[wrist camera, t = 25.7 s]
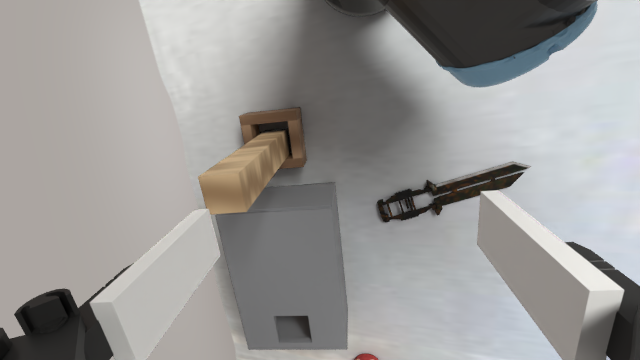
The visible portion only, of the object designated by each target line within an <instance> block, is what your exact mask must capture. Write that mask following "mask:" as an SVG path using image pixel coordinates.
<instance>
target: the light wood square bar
mask: <svg viewBox="0 0 640 360" xmlns="http://www.w3.org/2000/svg"><path fill="white" fill-rule="evenodd" d="M290 153H291V145H290V139H289V132H288V128H286V129H277V130H267V131H264V132H262V133H261V134H260V135H258V136H257V137H255V138H254V139H252V140H251V141H249V142H248V143H246V144H245V145H244V146H242V147H241V148H239V149H238V150H236V151H235V152H233V153H232V154H230V155H229V156H228V157H226V158H225V159H223V160H222V161H220V162H219V163H217V164H216V165H214V166H213V167H212V168H210V169H209V170H207V171H206V172H204V173H203V174H201V175H200V176H198V179H199V182H200V186H201V190H202V194H203V197H204V201H205V205H206V208H207V209H209V212H210V214H224V213H238V212H247V211H248V209H249V208H250V207H251V205H252V204H253V203H254V201H255V200H256V198H257V197H258V196H259V194H260V193H261V192H262V190H263V189H264V188H265V186H266V185H267V184H268V182H269V181H270V180H271V178H272V177H273V176H274V174H275V173H276V172H277V170H278V169H279V167H280V166H281V165H282V163H283V162H284V161H285V159H286V158H287V157H288V155H289V154H290Z"/></svg>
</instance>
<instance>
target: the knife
mask: <svg viewBox="0 0 640 360" xmlns="http://www.w3.org/2000/svg"><path fill="white" fill-rule="evenodd" d="M530 167H531V166H527V165H523V164H520V163H516V162H510V163H507V164H503V165H500V166H497V167H493V168H490V169H487V170H483V171H480V172H477V173H473V174H470V175H467V176H463V177H460V178H457V179H453V180H450V181H447V182H443V183H440V184H437V185H435V184H433V183H431V182H429V181H428V180H427V185H428V186H426V188H424V189H425V190H416V191H412V190H411V189H408V190H405V191H402V192H398V193H395V195H394V196H391V198H390V199H388V200H387V201H386V202H383V199H382V200H379V201H378V202H377V204H378V208H379V211H380V214H381V217H382V219H383V221H384V222H389V221H390V220H391V219H401V220H406V219H409V218H412V217H415V216H418V215H419V214H421V213H424V212H426V211H428V210H429V209H430V208H432V209H433V210H435V212H436V214H437V215H439V214H440V212H441V210H442V206H443V205H447V204H450V203H454V202H457V201H461V200H464V199H468V198H471V197H475V196H478V195H480V194H481V191H495V190H499V189H503V188H506V187H510V186H511V185H512V184H513V183H514V182H515V181H516V180H517V179H518V178H519V177H520V176H521V175H522V174H523V173H524V172H521V173H517V174H514V175H510V176H507V177H504V178H500V179H497V180H495V178H496V177H500V176H503V175H507V174H510V173H513V172H517V171H520V170H524V169H527V168H530ZM490 179H491V181H490V182H487V183H483V184H480V185H476V186H473V187H469V188H466V189H463V190H459V191H457V189H459V188H462V187H466V186H469V185H473V184H476V183H479V182H483V181H486V180H490ZM431 191H432V195H433V196H435V195H438V194H442V193H445V192H449V191H452V193H449V194H445V195H442V196H439V197H437V198H434V202H435V203H433V204H429V206H427V207H424V208H420V209H417V210H416V208H415V205H414V201H413V196H416V195H419V194H423V193H426V192H431ZM409 197H410V198H411V201H412V204H413V207H414V210H413V209H412V206H411V203H410V200H409ZM406 198H407V199H408V202H409V205H410V208H411V211H408V212H406V213H404V211H403V208H402V205H401V202H400V200H403V199H405V202H406V206H407V209H408V208H409V207H408V203H407V200H406ZM396 201H399V204H400V207H401V210H402V213H403V214H399V215H396V216H392V213H391V210H390V207H389V203H392V202H396ZM386 204H387V207H388V210H389V213H390V216H391V217H388V214H385V212H384V209H383V206H382V205H386Z"/></svg>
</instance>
